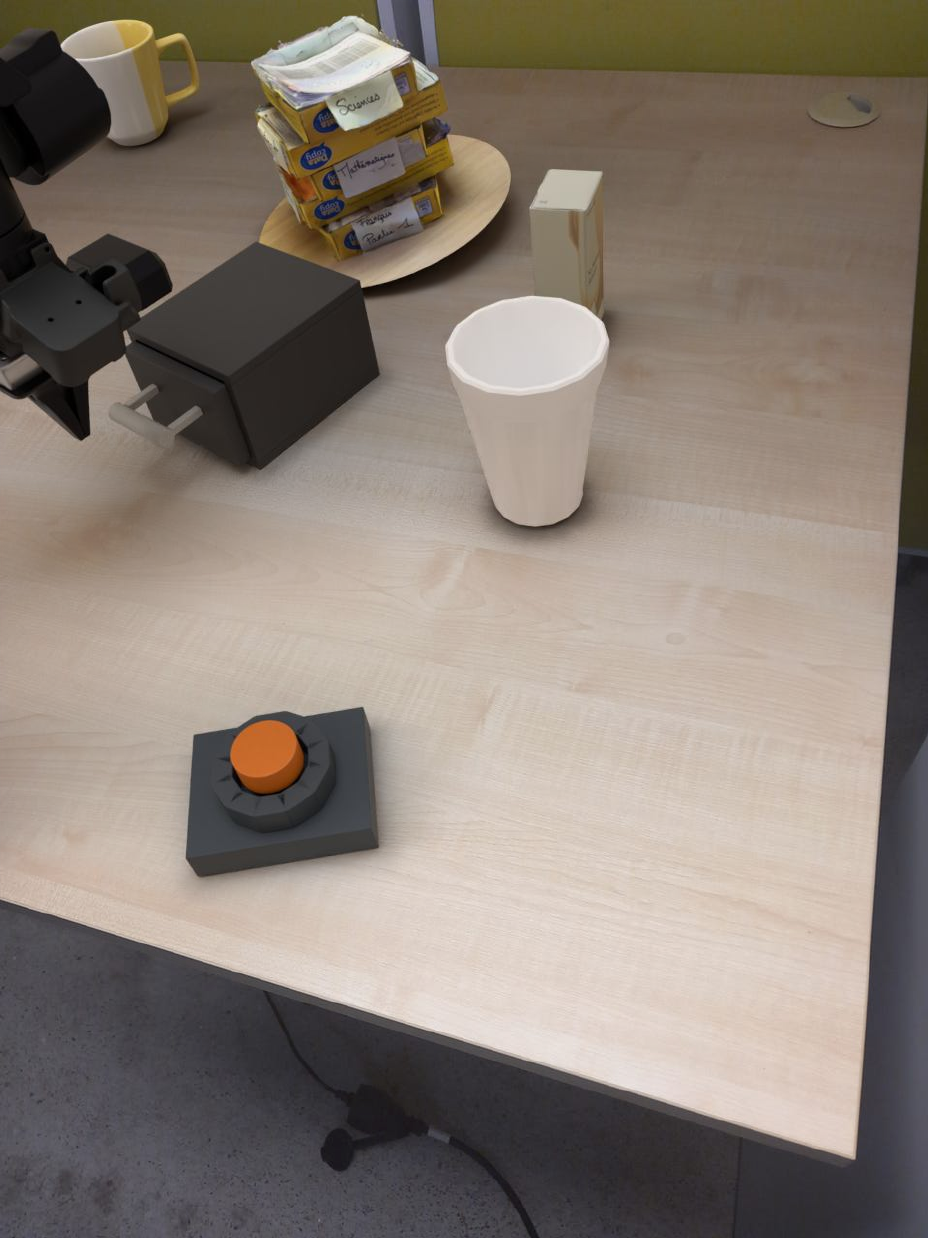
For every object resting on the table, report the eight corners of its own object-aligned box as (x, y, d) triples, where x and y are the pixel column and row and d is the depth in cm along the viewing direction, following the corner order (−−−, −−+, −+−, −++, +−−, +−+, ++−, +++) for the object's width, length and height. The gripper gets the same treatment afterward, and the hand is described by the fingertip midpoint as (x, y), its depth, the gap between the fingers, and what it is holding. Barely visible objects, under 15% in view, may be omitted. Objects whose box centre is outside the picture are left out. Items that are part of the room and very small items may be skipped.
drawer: (198, 500, 74) (167, 426, 69) (111, 450, 79) (76, 378, 74) (353, 377, 82) (336, 303, 77) (265, 339, 87) (243, 266, 82)
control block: (198, 877, 56) (174, 842, 53) (204, 754, 61) (183, 716, 58) (378, 848, 56) (365, 811, 53) (370, 727, 61) (357, 687, 58)
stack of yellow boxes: (262, 320, 90) (205, 130, 78) (256, 188, 106) (207, 13, 94) (536, 269, 91) (523, 72, 78) (488, 145, 107) (472, -35, 94)
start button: (238, 799, 54) (228, 782, 53) (239, 743, 57) (230, 725, 55) (305, 788, 54) (297, 771, 53) (303, 732, 57) (296, 714, 55)
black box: (260, 469, 77) (228, 376, 71) (163, 418, 83) (125, 327, 76) (380, 374, 83) (360, 279, 77) (282, 332, 89) (255, 240, 82)
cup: (451, 473, 75) (426, 318, 65) (580, 437, 76) (575, 279, 66) (491, 567, 68) (469, 410, 58) (632, 526, 69) (635, 365, 59)
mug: (97, 164, 114) (58, 65, 106) (93, 127, 121) (57, 32, 113) (217, 135, 116) (188, 36, 108) (207, 100, 122) (178, 4, 114)
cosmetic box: (589, 356, 82) (586, 212, 72) (536, 352, 83) (526, 209, 74) (606, 310, 85) (605, 167, 76) (555, 306, 87) (548, 165, 77)
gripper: (-95, 352, 51) (39, 566, 63) (187, 183, 59) (258, 401, 71) (-200, 290, 56) (-58, 499, 68) (73, 143, 64) (157, 352, 76)
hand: (82, 436), depth 70 cm, fingers closed
